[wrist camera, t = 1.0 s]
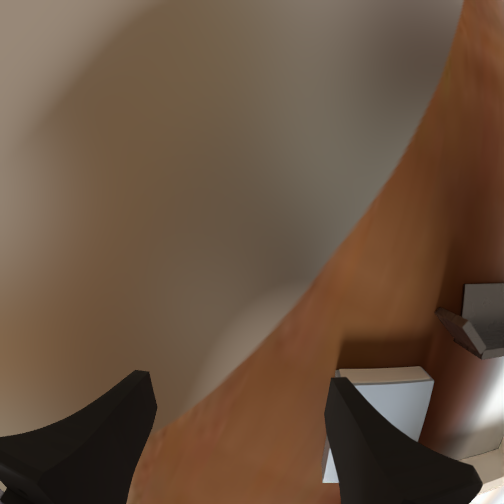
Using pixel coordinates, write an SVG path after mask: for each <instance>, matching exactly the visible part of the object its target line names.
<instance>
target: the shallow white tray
mask: <svg viewBox="0 0 504 504" xmlns="http://www.w3.org/2000/svg"><path fill="white" fill-rule="evenodd" d="M458 461H460V462H463V463H467V464H470V465H473V466H474V468H475V469H476V471H477V473H478V475H479V477H480V479H481V481H482V483H483V486H482V488H481V490H480V492H479V493H478V494H477V495H480V494H482V493H485V492H488V491H491V490H493V489H496V488H498V487H501V486H503V485H504V437H503V439H502V442H501V444H500V446H499V449H496V450H493V451H490V452H487V453H483V454H480V455H477V456H473V457H470V458H466V459H462V460H458Z"/></svg>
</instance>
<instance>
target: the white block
mask: <svg viewBox="0 0 504 504" xmlns="http://www.w3.org/2000/svg"><path fill="white" fill-rule="evenodd" d="M335 377H347V378H348V379H349V380H350V381H351V383H352V384H353V385H354V386H355V387H356V388H357V390H358V391H359V392H360V393H361V394H362V395H363V396H364V397H365V398H366V400H367V401H368V402H369V403H370V404H371V405H372V406H373V407H374V408H375V409H376V410H377V411H378V412H379V413H380V414H381V415H382V416H383V417H385V418H386V419H387V420H388V421H389V422H390V423H391V424H393V425H394V426H395V427H396V428H398V429H399V430H400V431H402V432H403V433H404V434H406V435H407V436H409V437H410V438H412V439H413V440H415V441H416V442H418V439H419V436H420V433H421V430H422V426H423V423H424V419H425V416H426V412H427V409H428V405H429V401H430V397H431V393H432V389H433V384H434V380H433V379H432V378H431V377H430V376H429V374H428V373H427V372H426V371H425V370H424V369H423V368H422V367H420V366H415V367H398V368H374V369H339V370H336V373H335ZM322 481H323V483H339V481H338V476H337V472H336V469H335V465H334V461H333V457H332V453H331V449H330V445H329V441H328V437H327V436H326V442H325V447H324V453H323V458H322Z"/></svg>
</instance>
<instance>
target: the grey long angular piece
mask: <svg viewBox="0 0 504 504" xmlns="http://www.w3.org/2000/svg"><path fill="white" fill-rule="evenodd" d="M435 314H436V315H437V317H438V318H439V319H440V321H441V322H442V323H443V325H444V326H445V327H446V329H447V330H448V331H449V333H450V334H451V335H452V337H454V342H456V343H457V344H459V345H460V346H462V347H463V348H465V349H466V350H468V351H469V352H471V353H472V354H474V355H475V356H477V357H478V358H480V359H481V360H483V359H489V358H495V357H501V356H504V283H487V284H464V291H463V302H462V311H461V316H458V315H456V314H454V313H452V312H450V311H448V310H446V309H443V308H441V307H439V308H438V310H437V311H436V312H435Z"/></svg>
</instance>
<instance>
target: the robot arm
mask: <svg viewBox="0 0 504 504" xmlns="http://www.w3.org/2000/svg"><path fill="white" fill-rule="evenodd" d="M156 411H157V404H156V400H155V396H154V392H153V387H152V383H151V378H150V374H149V372H146V371H138V370H135V371H133V372H132V373H131V374H129V375H128V376H127V377H126V378H124V379H123V380H122V381H121V382H120V383H118V384H117V385H116V386H114V387H113V388H112V389H110V390H109V391H108V392H106V393H105V394H104V395H102V396H101V397H99V398H98V399H97V400H95V401H94V402H92V403H91V404H89V405H88V406H86V407H85V408H83V409H81V410H80V411H78V412H76V413H74V414H73V415H71V416H69V417H67V418H65V419H63V420H60V421H58V422H56V423H53V424H51V425H48V426H46V427H43V428H40V429H37V430H34V431H30V432H26V433H22V434H17V435H11V436H5V437H0V481H1V482H2V483H3V484H4V485H5V486H6V487H7V489H6V491H5V492H3V491H2V490H1V489H0V504H126V502H127V497H128V493H129V489H130V485H131V481H132V477H133V474H134V471H135V468H136V465H137V463H138V461H139V458H140V456H141V453H142V451H143V449H144V446H145V444H146V442H147V439H148V437H149V434H150V432H151V429H152V427H153V423H154V419H155V415H156ZM324 415H325V424H326V432H327V437H328V441H329V445H330V449H331V453H332V457H333V461H334V465H335V469H336V472H337V476H338V481H339V487H340V496H341V504H469V503H470V502H471V501H472V500H473V499H474V498H475V497H476V496H477V494H478V493H479V492H480V490H481V488H482V486H483V483H482V481H481V479H480V477H479V475H478V473H477V471H476V469H475V468H474V466H473V465H470V464H467V463H463V462H460V461H457V460H454V459H451V458H449V457H446V456H444V455H442V454H439V453H437V452H435V451H433V450H431V449H429V448H427V447H425V446H423V445H422V444H420V443H418V442H416V441H415V440H413V439H412V438H410V437H409V436H407V435H406V434H404V433H403V432H402V431H400V430H399V429H398V428H396V427H395V426H394V425H393V424H391V423H390V422H389V421H388V420H387V419H386V418H385V417H383V416H382V415H381V414H380V413H379V412H378V411H377V410H376V409H375V408H374V407H373V406H372V405H371V404H370V403H369V402H368V401H367V400H366V398H365V397H364V396H363V395H362V394H361V393H360V392H359V391H358V390H357V388H356V387H355V386H354V385H353V384H352V383H351V381H350V380H349V379H348V378H347V377H335V378H331V382H330V387H329V393H328V398H327V403H326V408H325V413H324Z"/></svg>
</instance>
